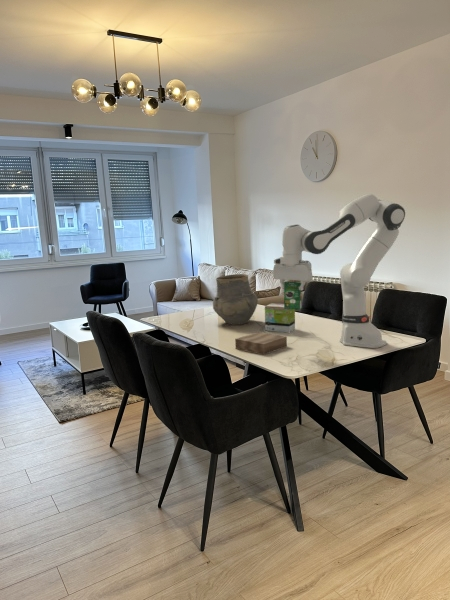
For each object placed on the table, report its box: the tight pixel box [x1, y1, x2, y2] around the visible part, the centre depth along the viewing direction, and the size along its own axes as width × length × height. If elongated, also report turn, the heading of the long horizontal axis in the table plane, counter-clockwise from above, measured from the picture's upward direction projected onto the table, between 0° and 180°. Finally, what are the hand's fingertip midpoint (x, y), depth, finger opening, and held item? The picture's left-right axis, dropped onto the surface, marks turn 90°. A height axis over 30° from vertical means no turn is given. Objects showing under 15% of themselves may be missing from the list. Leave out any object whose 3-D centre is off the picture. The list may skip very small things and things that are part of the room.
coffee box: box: [283, 281, 302, 311], centre depth 215 cm, size 8×3×13 cm, turn 65°
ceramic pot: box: [212, 273, 259, 326], centre depth 286 cm, size 28×28×30 cm
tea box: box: [264, 302, 296, 334], centre depth 261 cm, size 15×10×15 cm
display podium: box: [234, 331, 288, 355], centre depth 226 cm, size 18×18×5 cm
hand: (292, 289), depth 214 cm, fingers closed on coffee box, 8 cm apart
